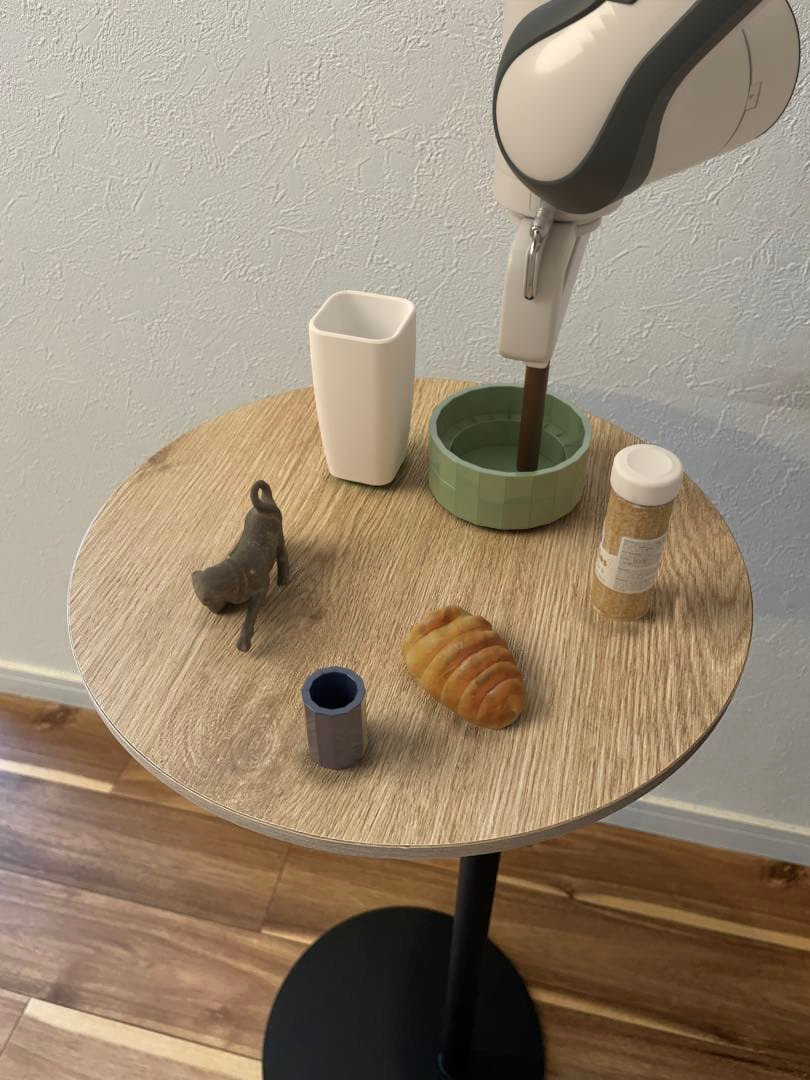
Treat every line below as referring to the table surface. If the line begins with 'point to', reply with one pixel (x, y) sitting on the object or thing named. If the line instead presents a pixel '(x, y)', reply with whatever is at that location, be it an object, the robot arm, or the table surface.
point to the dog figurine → (248, 564)
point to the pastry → (466, 667)
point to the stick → (532, 418)
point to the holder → (335, 717)
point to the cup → (364, 383)
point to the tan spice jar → (634, 530)
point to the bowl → (505, 458)
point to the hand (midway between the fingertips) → (540, 352)
